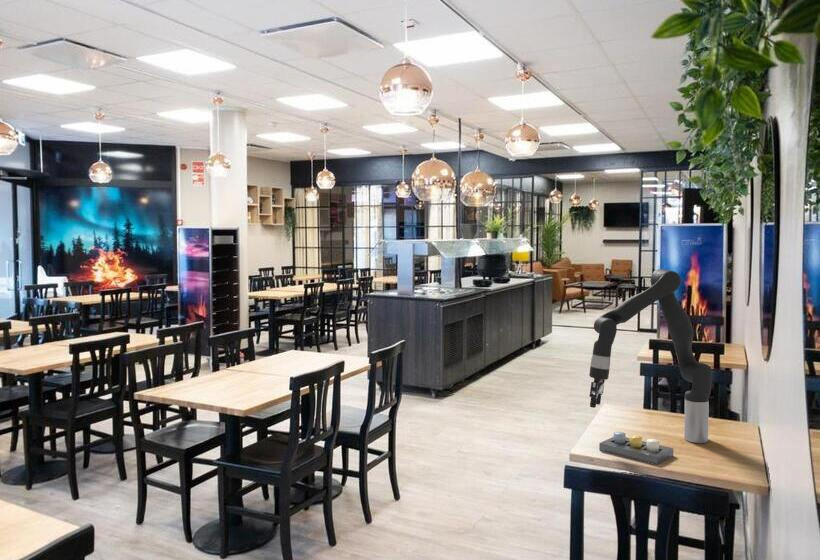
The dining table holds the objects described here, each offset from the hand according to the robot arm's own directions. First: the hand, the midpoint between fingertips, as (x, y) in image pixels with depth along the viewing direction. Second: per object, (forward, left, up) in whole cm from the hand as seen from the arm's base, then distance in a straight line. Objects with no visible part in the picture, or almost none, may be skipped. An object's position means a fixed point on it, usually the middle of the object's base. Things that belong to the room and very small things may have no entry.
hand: (595, 405), depth 259 cm
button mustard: (-5, +15, -15) cm, 22 cm away
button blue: (-5, +8, -15) cm, 18 cm away
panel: (-5, +15, -17) cm, 24 cm away
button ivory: (-5, +22, -15) cm, 27 cm away
